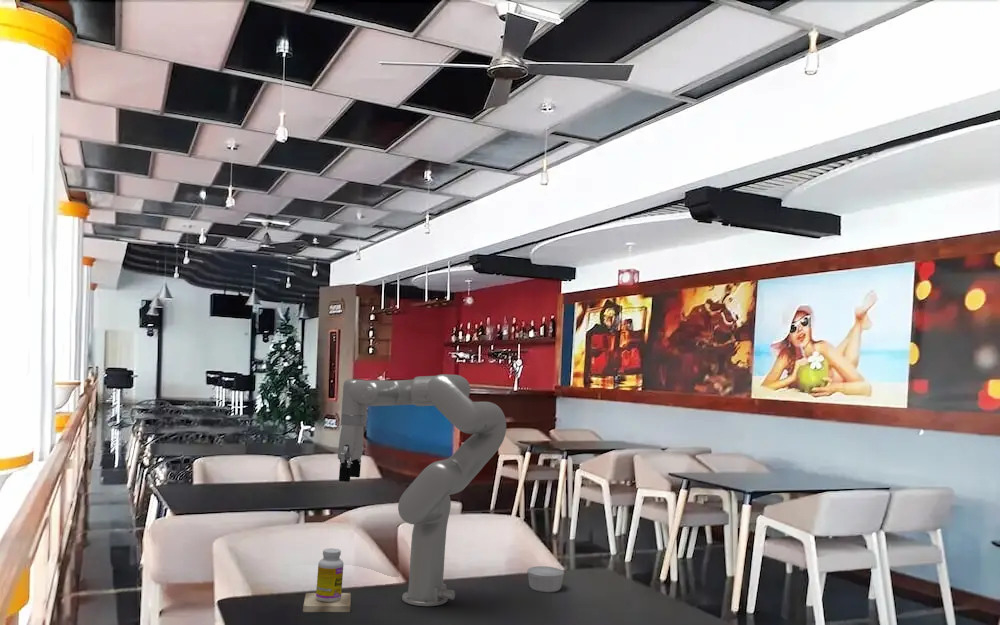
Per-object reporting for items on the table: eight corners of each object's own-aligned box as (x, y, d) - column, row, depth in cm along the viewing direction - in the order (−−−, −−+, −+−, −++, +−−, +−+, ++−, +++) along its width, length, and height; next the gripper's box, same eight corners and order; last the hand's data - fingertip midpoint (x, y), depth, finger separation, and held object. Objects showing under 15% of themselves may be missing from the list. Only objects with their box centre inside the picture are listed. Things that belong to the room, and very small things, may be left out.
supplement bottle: (335, 604, 209) (338, 554, 210) (311, 601, 210) (315, 551, 211) (344, 597, 215) (348, 548, 216) (322, 594, 217) (325, 546, 217)
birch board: (350, 598, 219) (350, 593, 219) (350, 612, 208) (350, 606, 208) (305, 598, 217) (306, 592, 217) (302, 612, 205) (303, 606, 206)
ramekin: (524, 591, 237) (525, 573, 237) (529, 581, 248) (529, 564, 248) (561, 595, 235) (562, 577, 235) (564, 585, 246) (565, 568, 246)
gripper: (350, 418, 246) (346, 474, 245) (332, 422, 229) (327, 482, 228) (373, 420, 245) (369, 476, 244) (357, 423, 228) (352, 484, 227)
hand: (349, 479), depth 236 cm, fingers open, 9 cm apart
